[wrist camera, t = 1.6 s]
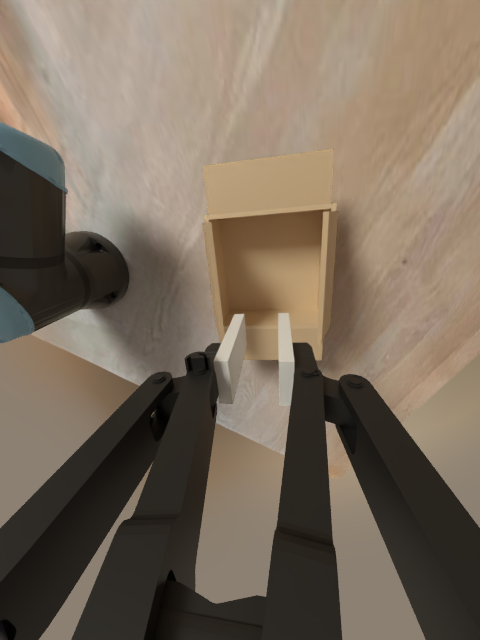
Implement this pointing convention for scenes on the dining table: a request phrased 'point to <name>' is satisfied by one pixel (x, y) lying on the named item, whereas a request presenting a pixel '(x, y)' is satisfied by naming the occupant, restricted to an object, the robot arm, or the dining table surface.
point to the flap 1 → (213, 278)
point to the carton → (270, 244)
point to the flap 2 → (327, 273)
